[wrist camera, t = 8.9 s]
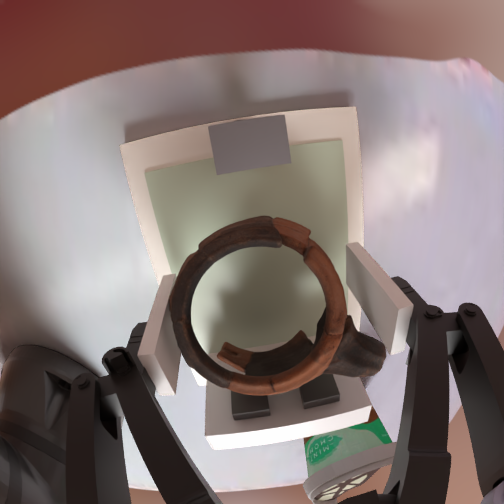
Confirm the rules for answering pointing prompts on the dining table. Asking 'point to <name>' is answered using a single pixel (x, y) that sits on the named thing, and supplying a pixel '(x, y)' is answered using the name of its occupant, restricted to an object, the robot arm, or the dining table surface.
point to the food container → (345, 458)
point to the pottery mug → (295, 350)
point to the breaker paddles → (311, 394)
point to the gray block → (249, 144)
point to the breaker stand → (257, 255)
